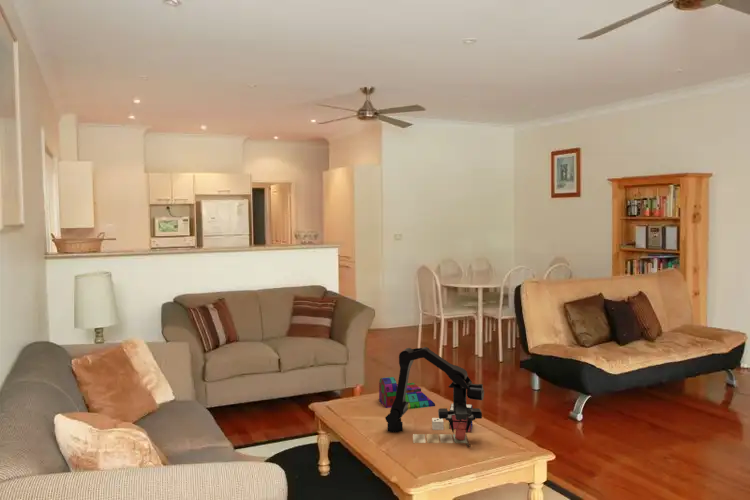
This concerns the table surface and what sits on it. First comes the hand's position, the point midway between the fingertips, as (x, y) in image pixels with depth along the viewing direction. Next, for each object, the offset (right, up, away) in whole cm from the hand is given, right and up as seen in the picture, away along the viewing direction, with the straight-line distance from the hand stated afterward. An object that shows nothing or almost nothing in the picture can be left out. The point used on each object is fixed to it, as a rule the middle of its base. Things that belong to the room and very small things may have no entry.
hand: (459, 432), depth 277 cm
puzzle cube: (+3, -3, +16) cm, 17 cm away
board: (-9, -4, +1) cm, 10 cm away
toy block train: (-21, -1, +52) cm, 56 cm away
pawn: (0, -3, 0) cm, 3 cm away
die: (-8, -3, +14) cm, 16 cm away
